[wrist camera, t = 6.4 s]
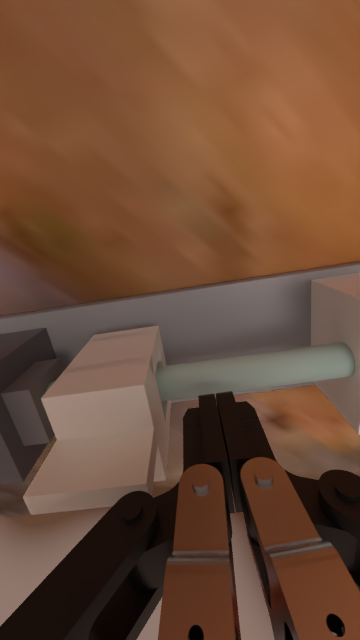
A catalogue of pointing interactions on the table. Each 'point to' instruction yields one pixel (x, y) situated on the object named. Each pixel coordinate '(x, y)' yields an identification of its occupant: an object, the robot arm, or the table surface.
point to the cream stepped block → (104, 425)
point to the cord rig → (192, 347)
